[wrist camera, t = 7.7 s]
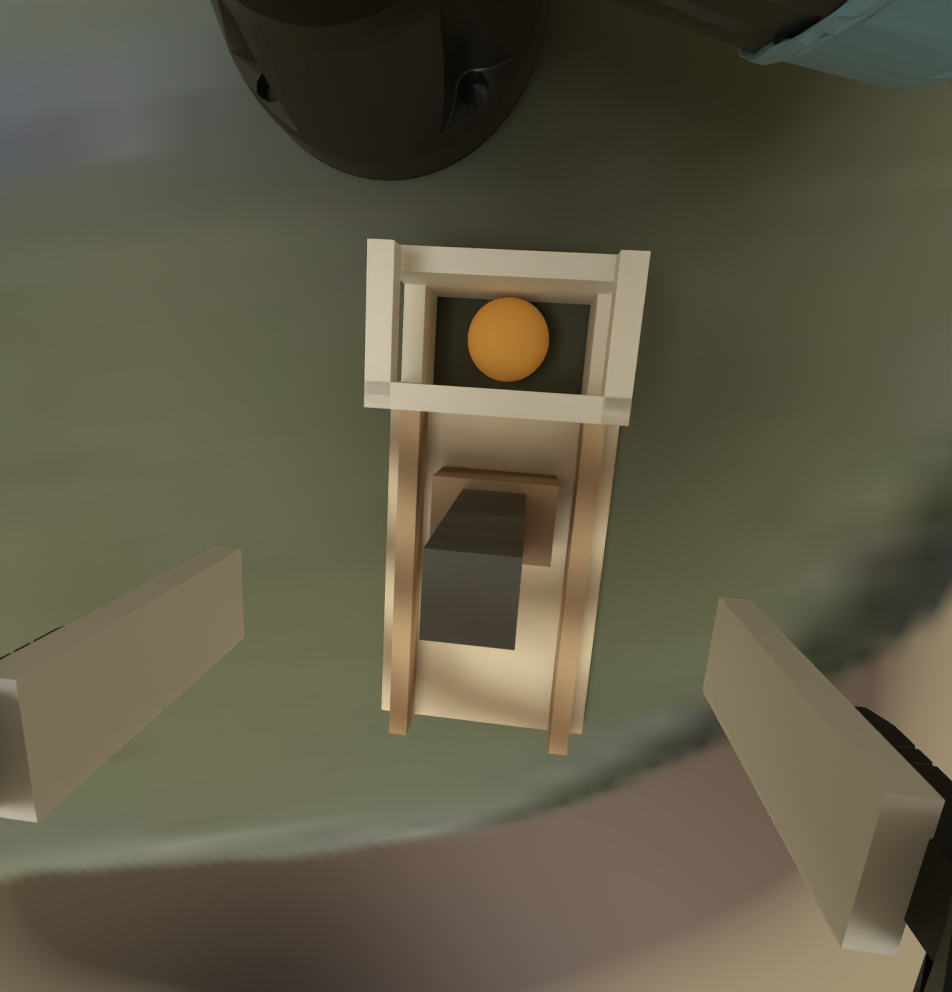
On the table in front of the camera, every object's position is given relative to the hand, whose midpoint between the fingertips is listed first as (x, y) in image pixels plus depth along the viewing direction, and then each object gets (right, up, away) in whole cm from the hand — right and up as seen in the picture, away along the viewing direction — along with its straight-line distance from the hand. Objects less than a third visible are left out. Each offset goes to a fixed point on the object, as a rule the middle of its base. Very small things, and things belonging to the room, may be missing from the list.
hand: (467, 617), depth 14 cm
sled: (+1, +3, +14) cm, 14 cm away
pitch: (+1, -1, +16) cm, 16 cm away
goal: (+2, +11, +13) cm, 18 cm away
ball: (+2, +11, +11) cm, 16 cm away
